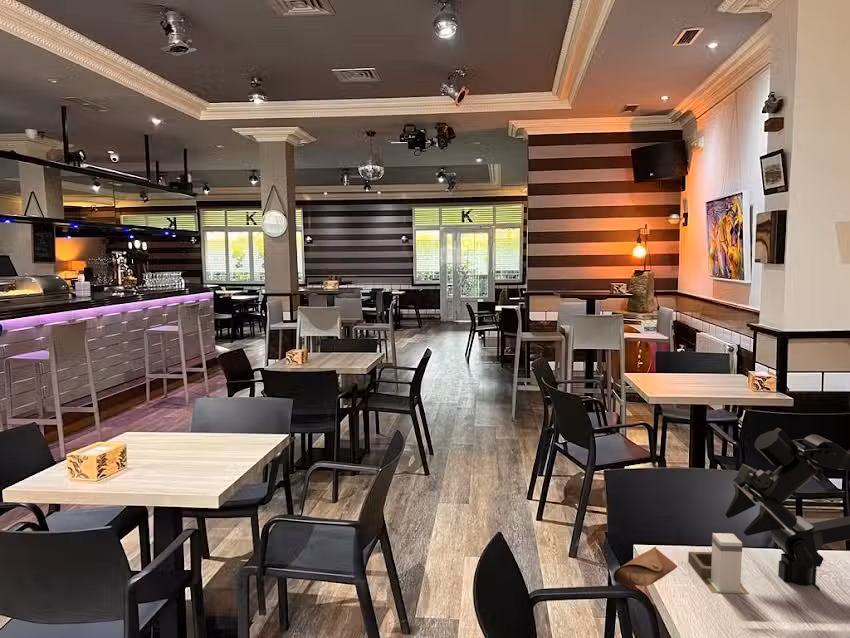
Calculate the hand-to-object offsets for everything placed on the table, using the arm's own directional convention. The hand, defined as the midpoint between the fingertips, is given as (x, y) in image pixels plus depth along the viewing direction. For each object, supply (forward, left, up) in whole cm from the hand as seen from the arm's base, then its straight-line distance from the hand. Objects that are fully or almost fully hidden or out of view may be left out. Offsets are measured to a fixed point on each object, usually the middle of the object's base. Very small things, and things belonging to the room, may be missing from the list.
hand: (735, 525), depth 135 cm
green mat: (+4, +4, -14) cm, 15 cm away
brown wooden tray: (+4, 0, -14) cm, 14 cm away
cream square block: (+3, +4, -12) cm, 13 cm away
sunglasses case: (+18, -2, -14) cm, 23 cm away
